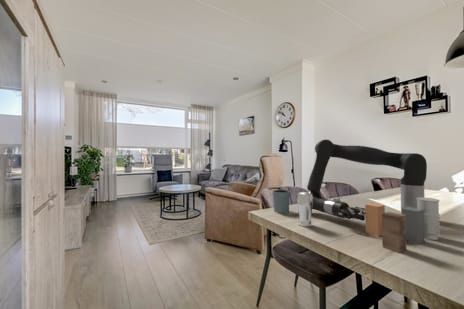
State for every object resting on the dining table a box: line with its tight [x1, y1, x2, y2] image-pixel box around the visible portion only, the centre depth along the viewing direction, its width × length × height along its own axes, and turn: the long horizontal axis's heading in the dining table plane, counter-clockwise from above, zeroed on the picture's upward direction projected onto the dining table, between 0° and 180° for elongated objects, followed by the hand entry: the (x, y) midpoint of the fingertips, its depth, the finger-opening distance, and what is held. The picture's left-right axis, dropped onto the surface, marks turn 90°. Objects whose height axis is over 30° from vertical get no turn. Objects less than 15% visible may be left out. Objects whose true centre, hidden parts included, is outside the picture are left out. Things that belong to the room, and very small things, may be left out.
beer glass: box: [296, 191, 313, 228], centre depth 100 cm, size 7×7×15 cm
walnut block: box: [381, 211, 407, 254], centre depth 74 cm, size 5×5×12 cm
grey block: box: [402, 207, 425, 245], centre depth 81 cm, size 5×5×12 cm
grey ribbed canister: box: [416, 197, 441, 241], centre depth 84 cm, size 7×7×15 cm
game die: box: [329, 196, 342, 202], centre depth 123 cm, size 9×8×10 cm
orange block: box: [364, 202, 386, 238], centre depth 88 cm, size 5×5×12 cm
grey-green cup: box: [272, 189, 291, 214], centre depth 124 cm, size 10×10×12 cm
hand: (370, 216), depth 90 cm, fingers open, 8 cm apart
